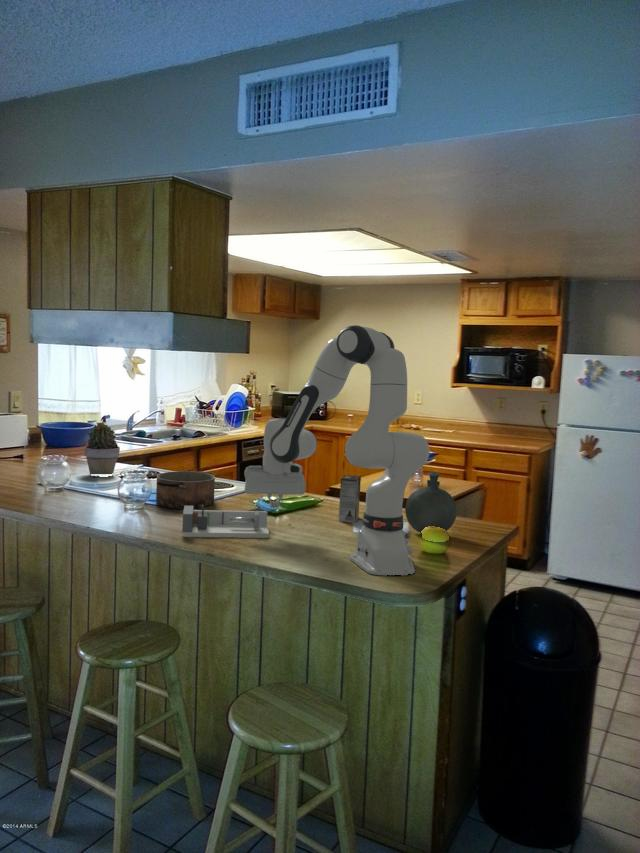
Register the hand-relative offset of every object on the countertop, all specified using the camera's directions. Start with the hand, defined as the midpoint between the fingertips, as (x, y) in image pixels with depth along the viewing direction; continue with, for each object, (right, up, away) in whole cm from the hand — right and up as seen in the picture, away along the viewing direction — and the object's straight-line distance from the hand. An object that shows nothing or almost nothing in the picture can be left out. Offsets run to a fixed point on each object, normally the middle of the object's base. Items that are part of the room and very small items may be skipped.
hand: (274, 507), depth 231 cm
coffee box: (+26, -8, +28) cm, 39 cm away
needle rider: (-24, -6, -2) cm, 25 cm away
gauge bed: (-16, -8, 0) cm, 18 cm away
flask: (+54, -11, +12) cm, 56 cm away
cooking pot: (-38, -3, +40) cm, 55 cm away
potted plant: (-85, +4, +86) cm, 121 cm away
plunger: (-10, -7, 0) cm, 12 cm away
